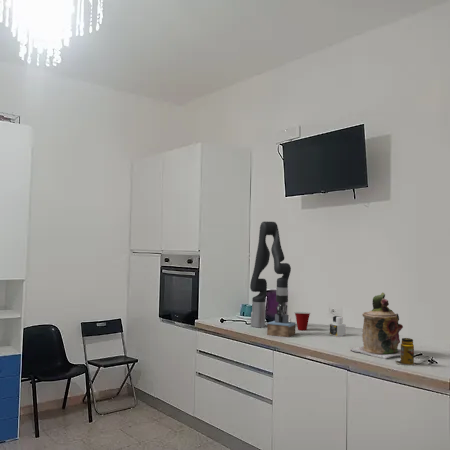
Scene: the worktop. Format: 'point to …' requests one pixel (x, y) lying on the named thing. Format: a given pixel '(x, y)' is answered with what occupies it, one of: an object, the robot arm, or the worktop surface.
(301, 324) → the plastic cup
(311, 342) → the worktop surface
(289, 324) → the cover plate
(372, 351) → the cookie jar
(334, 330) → the medicine bottle
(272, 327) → the wooden box
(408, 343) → the condiment
